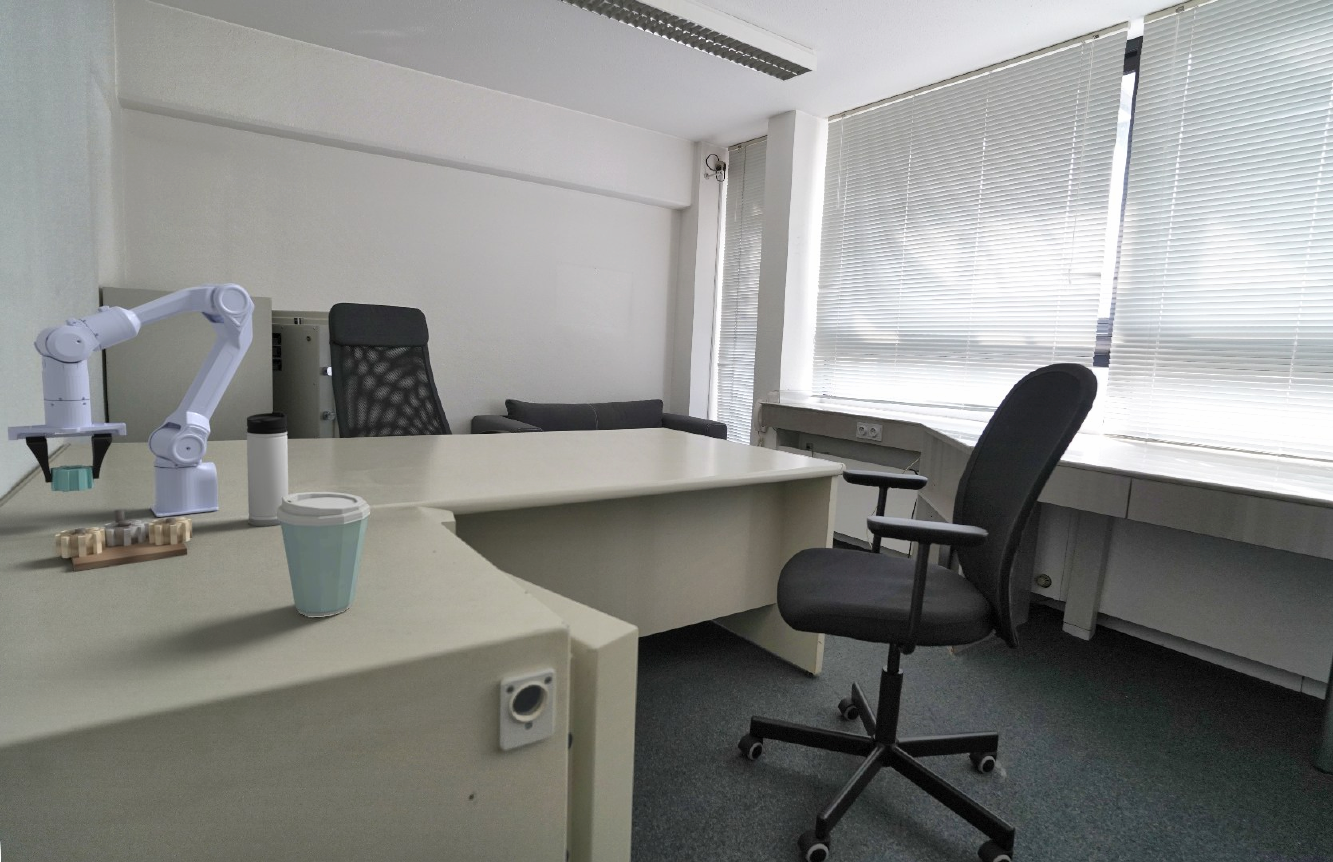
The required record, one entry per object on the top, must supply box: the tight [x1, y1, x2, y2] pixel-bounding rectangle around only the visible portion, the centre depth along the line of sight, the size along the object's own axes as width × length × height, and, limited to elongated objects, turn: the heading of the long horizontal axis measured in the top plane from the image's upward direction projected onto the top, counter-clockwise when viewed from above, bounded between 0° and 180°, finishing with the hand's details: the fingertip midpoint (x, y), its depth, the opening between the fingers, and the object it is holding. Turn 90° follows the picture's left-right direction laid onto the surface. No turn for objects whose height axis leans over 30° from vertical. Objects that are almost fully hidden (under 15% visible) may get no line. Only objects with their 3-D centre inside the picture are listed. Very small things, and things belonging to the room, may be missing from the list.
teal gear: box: [49, 464, 95, 493], centre depth 111 cm, size 5×5×4 cm
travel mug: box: [246, 411, 289, 527], centre depth 120 cm, size 6×7×20 cm
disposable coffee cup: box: [276, 491, 371, 617], centre depth 85 cm, size 11×11×15 cm
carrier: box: [54, 508, 193, 572], centre depth 104 cm, size 16×18×4 cm
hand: (72, 479), depth 111 cm, fingers closed on teal gear, 5 cm apart
